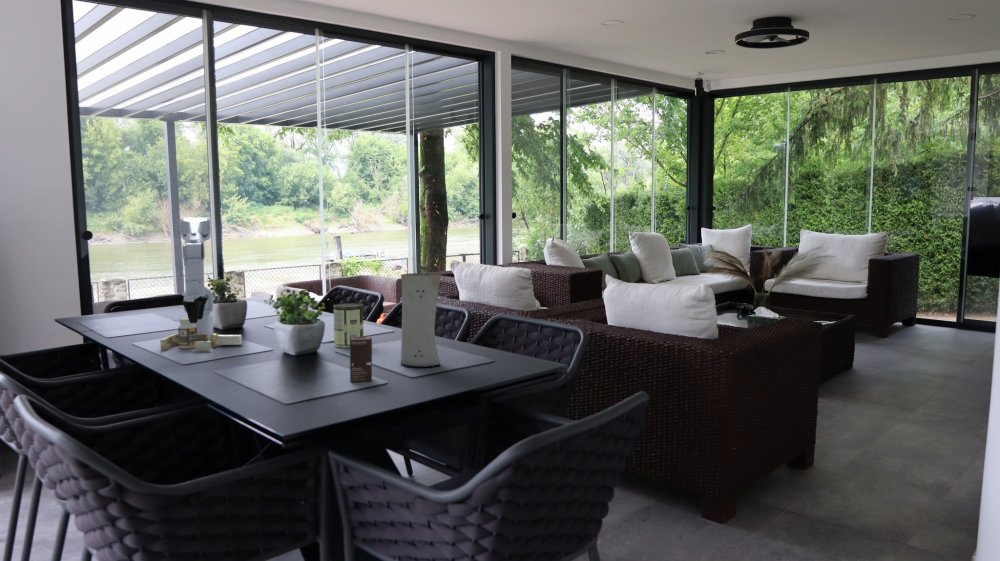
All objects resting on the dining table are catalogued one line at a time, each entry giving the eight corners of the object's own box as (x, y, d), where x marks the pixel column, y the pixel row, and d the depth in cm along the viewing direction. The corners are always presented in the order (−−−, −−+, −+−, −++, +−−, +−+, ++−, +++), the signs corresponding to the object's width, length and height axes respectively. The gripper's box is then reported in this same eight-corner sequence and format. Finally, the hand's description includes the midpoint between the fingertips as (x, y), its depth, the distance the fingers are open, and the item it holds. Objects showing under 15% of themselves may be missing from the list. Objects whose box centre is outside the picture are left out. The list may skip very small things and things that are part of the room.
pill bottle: (192, 349, 244) (191, 319, 243) (175, 348, 244) (174, 319, 243) (200, 345, 250) (199, 317, 249) (183, 345, 250) (182, 317, 249)
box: (350, 382, 200) (349, 339, 199) (350, 379, 204) (349, 336, 203) (372, 381, 201) (372, 338, 200) (371, 378, 206) (371, 336, 204)
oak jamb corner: (173, 343, 253) (173, 334, 253) (207, 343, 254) (207, 333, 253) (160, 350, 242) (160, 339, 241) (196, 350, 242) (196, 339, 242)
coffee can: (348, 341, 261) (347, 302, 259) (370, 344, 255) (369, 304, 254) (327, 345, 252) (326, 305, 251) (349, 349, 247) (348, 307, 245)
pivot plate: (209, 344, 253) (209, 343, 253) (223, 344, 254) (223, 343, 254) (205, 346, 249) (205, 346, 249) (218, 346, 249) (218, 346, 249)
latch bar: (208, 344, 250) (208, 335, 249) (211, 343, 252) (211, 333, 252) (239, 344, 250) (239, 335, 250) (241, 343, 253) (241, 333, 253)
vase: (450, 365, 225) (452, 274, 223) (417, 370, 215) (418, 276, 213) (423, 359, 233) (424, 272, 231) (389, 364, 223) (390, 273, 221)
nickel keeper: (199, 349, 244) (198, 339, 244) (213, 349, 244) (213, 339, 244) (194, 351, 240) (194, 342, 240) (209, 351, 241) (209, 341, 240)
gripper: (186, 277, 243) (188, 317, 244) (175, 282, 229) (177, 324, 230) (209, 277, 244) (210, 317, 246) (199, 281, 230) (201, 324, 231)
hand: (196, 321), depth 238 cm, fingers open, 7 cm apart
